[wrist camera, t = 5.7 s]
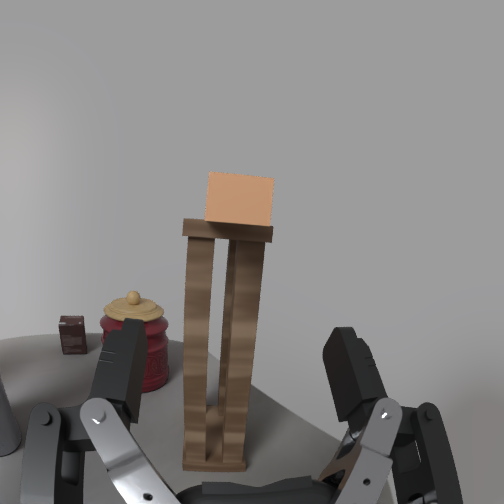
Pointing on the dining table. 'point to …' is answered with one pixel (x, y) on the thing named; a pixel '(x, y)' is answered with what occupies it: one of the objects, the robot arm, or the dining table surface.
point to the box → (72, 335)
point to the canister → (155, 334)
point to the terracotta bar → (239, 199)
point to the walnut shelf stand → (232, 345)
